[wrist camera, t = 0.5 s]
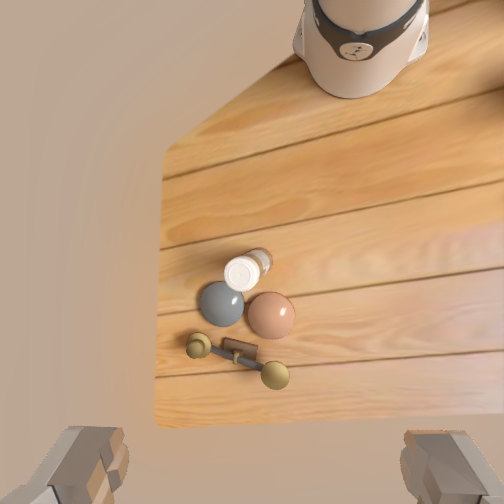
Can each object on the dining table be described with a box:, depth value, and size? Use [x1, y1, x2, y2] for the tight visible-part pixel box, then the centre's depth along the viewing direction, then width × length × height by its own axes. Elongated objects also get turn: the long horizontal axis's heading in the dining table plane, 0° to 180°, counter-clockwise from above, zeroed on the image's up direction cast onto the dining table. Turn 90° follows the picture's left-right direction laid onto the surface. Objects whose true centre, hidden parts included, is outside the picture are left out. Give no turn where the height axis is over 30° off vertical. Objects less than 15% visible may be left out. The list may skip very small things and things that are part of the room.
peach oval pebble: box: [248, 292, 295, 339], centre depth 52 cm, size 8×8×1 cm
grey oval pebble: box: [200, 281, 245, 327], centre depth 54 cm, size 8×8×1 cm
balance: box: [186, 333, 290, 390], centre depth 52 cm, size 5×19×5 cm, turn 81°
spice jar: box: [224, 248, 273, 292], centre depth 45 cm, size 5×5×13 cm
